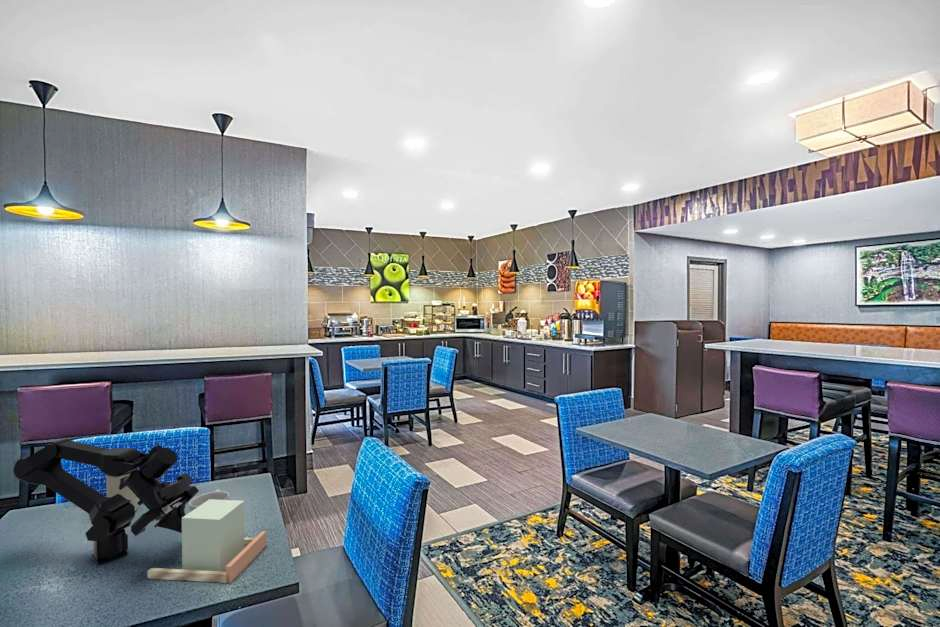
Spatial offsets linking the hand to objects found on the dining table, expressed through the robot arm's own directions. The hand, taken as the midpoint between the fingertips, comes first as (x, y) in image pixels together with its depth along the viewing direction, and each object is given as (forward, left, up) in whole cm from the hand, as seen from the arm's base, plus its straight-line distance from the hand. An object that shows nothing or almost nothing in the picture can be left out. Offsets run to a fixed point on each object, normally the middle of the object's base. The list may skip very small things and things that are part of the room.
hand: (188, 532), depth 123 cm
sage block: (+4, -6, -7) cm, 10 cm away
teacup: (+13, +18, -8) cm, 24 cm away
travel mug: (-3, +46, -8) cm, 47 cm away
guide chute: (+3, -5, -7) cm, 9 cm away
